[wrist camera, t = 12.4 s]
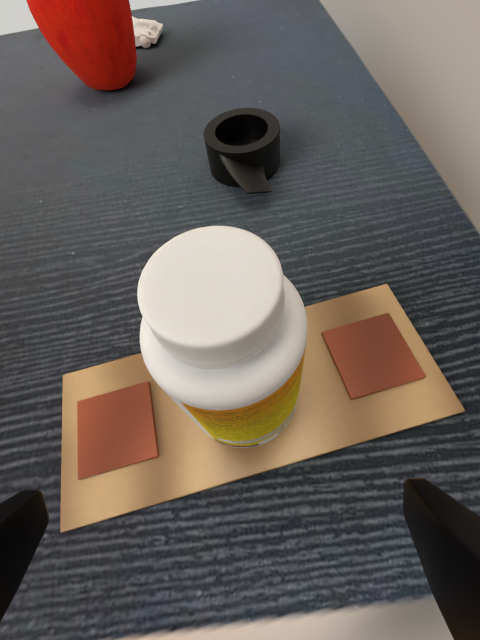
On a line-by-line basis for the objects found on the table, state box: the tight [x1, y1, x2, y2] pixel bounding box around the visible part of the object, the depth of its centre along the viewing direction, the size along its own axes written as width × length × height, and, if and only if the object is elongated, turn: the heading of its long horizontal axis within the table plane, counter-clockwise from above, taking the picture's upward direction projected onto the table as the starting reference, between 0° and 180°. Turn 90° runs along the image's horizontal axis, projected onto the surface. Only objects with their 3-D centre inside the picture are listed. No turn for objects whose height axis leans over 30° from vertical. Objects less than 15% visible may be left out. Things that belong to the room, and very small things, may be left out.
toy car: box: [132, 16, 163, 48], centre depth 41 cm, size 5×8×2 cm, turn 84°
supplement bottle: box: [137, 226, 307, 448], centre depth 13 cm, size 6×6×10 cm
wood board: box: [60, 284, 465, 533], centre depth 18 cm, size 20×8×1 cm, turn 105°
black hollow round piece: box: [204, 108, 280, 194], centre depth 26 cm, size 8×10×3 cm
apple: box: [27, 0, 137, 90], centre depth 32 cm, size 9×9×11 cm
